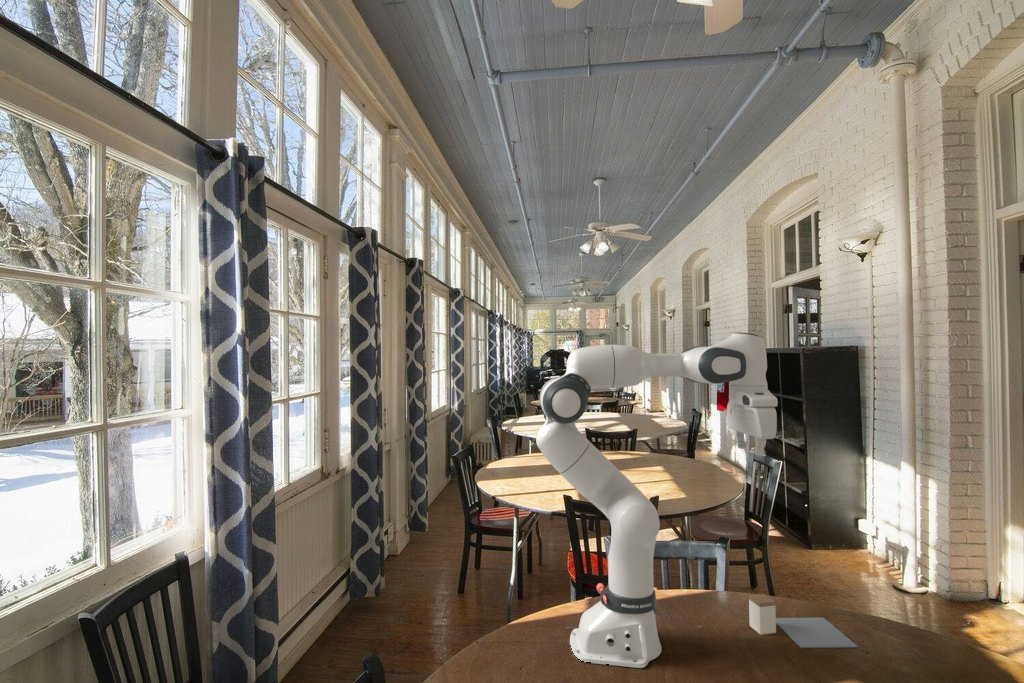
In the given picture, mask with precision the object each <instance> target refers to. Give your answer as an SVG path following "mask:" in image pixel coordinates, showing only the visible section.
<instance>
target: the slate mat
mask: <svg viewBox="0 0 1024 683" xmlns="http://www.w3.org/2000/svg"><path fill="white" fill-rule="evenodd" d="M776 626H779V628H780V629H781V630H782V631H783V632H784V633H785V634H787V636H788V637H789V638H790V639H791V640H792V641H794V643H795V644H796V645H797V646H798V647H799V648H800V649H826V648H827V649H829V648H830V649H833V648H834V649H837V648H839V649H840V648H843V649H844V648H859V646H858V645H857V644H856V643H855V642H853V641H852V640H851V639H849V637H847V635H845V634H844V633H843V632H842V631H840V630H839V629H838V628H836V627H835V626H834V625H833V624H832V623H831V622H830V621H828V620H827V619H826V618H825V617H776Z"/></svg>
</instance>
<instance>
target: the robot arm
mask: <svg viewBox="0 0 1024 683" xmlns="http://www.w3.org/2000/svg"><path fill="white" fill-rule="evenodd" d="M767 358H768V357H767V348H766V344H765V341H764V339H763V338H762V336H760V335H757V334H755V333H751V332H750V333H749V332H733V333H732V334H730V335H729V336H728V337H726V338H725V339H723V340H721V341H719V342H717V343H715V344H714V343H713V345H710V346H709V345H708V346H704V345H697V346H692V347H690V348H688V349H686V350H684V351H680V352H677V353H675V352H673V353H672V352H671V353H651V352H646V351H644V350H641V349H640V348H638V347H637V346H636V347H635V346H633V345H632V346H631V345H624V344H598V345H590V346H589V345H588V346H583V347H580V348H579V347H578V348H576V349H573V350H572V351H571V352H570V354H569V355H568V358H567V361H566V370H565V373H564V374H563V375H562V376H557V377H552V378H550V379H548V380H547V381H546V382H545V383H543V385H542V387H541V389H540V391H539V394H538V395H539V397H538V398H539V404H540V408H541V411H542V414H543V418H544V420H545V422H544V423H543V425H541V426H540V428H539V429H538V431H537V434H536V435H535V436H536V437H535V442H536V443H535V444H536V446H537V448H538V450H539V451H540V452H541V454H542V455H543V456H544V457H545V459H546V460H547V461H548V462H549V464H550V465H551V467H553V468H554V470H556V471H557V472H558V473H559V475H561V476H562V477H563V478H564V479H565V480H566V481H567V482H568V483H569V484H570V485H571V486H572V487H573V488H574V489H575V490H576V491H577V492H578V493H579V494H580V495H581V497H582V496H583V497H584V498H585V499H586V500H588V501H589V502H590V503H591V504H592V505H594V507H596V508H597V510H599V511H600V512H602V514H603V515H605V517H606V519H607V520H609V523H610V528H611V531H610V532H611V537H610V546H609V552H608V554H607V570H608V571H607V572H608V584H607V585H606V586H605V585H604V584H603V583H601V582H600V583H597V585H596V587H595V588H596V590H597V593H598V594H600V601H598V602H597V603H595V604H594V605H592V606H591V607H590V608H588V609H586V610H585V611H584V612H583V613H582V614H581V616H580V618H579V619H580V620H579V624H578V627H577V628H573V630H572V631H571V633H570V637H569V646H570V645H571V647H570V649H571V648H572V650H571V652H572V651H573V653H574V654H573V653H572V654H573V656H574V655H575V656H576V657H577V658H578V659H580V660H581V661H584V662H583V663H586V662H591V663H590V664H596V665H606V664H609V665H608V666H618V667H627V668H636V669H637V668H638V669H643V668H645V667H646V666H648V664H649V662H651V661H654V659H657V657H659V656H660V655H661V653H662V645H661V641H660V638H659V634H658V627H657V620H656V612H657V611H656V609H657V595H656V590H655V589H654V555H655V549H656V541H657V536H658V535H659V531H660V529H661V523H660V517H659V514H658V511H657V509H656V506H655V505H654V503H653V502H652V501H651V500H649V498H648V497H647V496H646V495H645V494H644V493H643V492H642V491H641V490H640V488H638V487H637V486H636V484H634V483H633V482H632V481H631V480H630V479H629V478H628V477H627V476H626V475H625V474H624V473H623V472H622V471H621V470H619V468H618V467H616V466H615V464H613V463H612V462H611V460H610V459H608V457H606V456H605V455H604V454H603V453H602V452H601V451H600V450H599V449H598V448H597V447H596V446H595V445H594V444H593V443H592V442H591V441H590V440H589V439H588V438H586V436H584V435H583V434H582V432H580V430H579V429H578V428H577V426H576V422H577V421H578V420H579V419H581V417H583V415H584V413H585V411H586V409H587V405H588V401H589V398H590V395H591V391H592V390H596V389H620V388H621V389H622V388H628V387H629V388H630V387H633V386H637V385H639V384H641V383H642V382H643V381H644V380H646V379H649V378H656V377H657V378H659V377H668V378H669V377H679V378H684V379H686V380H688V381H690V382H692V383H697V384H710V385H721V384H725V383H729V401H728V403H727V406H726V425H727V428H728V429H730V430H733V431H734V433H733V434H734V436H735V440H736V447H737V449H741V450H743V449H744V450H745V449H747V441H745V435H749V436H751V437H754V442H755V446H754V447H753V454H754V455H755V456H757V457H761V456H762V457H763V456H764V455H765V454H764V453H765V450H764V448H765V447H766V444H767V440H773V439H775V437H776V435H777V432H778V431H777V429H778V428H777V427H778V425H777V424H778V421H777V420H778V419H777V417H778V416H777V411H776V407H778V403H779V402H778V398H777V397H776V396H775V395H773V394H772V392H771V391H770V390H769V389H768V387H769V386H768V381H767V378H766V377H767V375H766V374H767V370H768V359H767ZM575 656H574V657H575ZM576 657H575V658H576ZM577 658H576V659H577ZM578 659H577V660H578ZM580 660H579V661H580ZM581 661H580V662H581Z"/></svg>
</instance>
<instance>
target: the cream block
mask: <svg viewBox="0 0 1024 683" xmlns="http://www.w3.org/2000/svg"><path fill="white" fill-rule="evenodd" d="M748 611H749V612H748V613H749V614H748V615H749V619H748V620H749V627H751V628H752V629H753V630H754V631H756V632H757V633H758V634H759V635H768V634H770V635H771V634H776V633H777V624H776V618H777V616H776V615H777V614H776V612H777V611H776V601H775V600H773V599H772V598H771V597H769V596H768V595H766V594H765V593H761V594H760V593H758V594H749V595H748Z"/></svg>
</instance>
